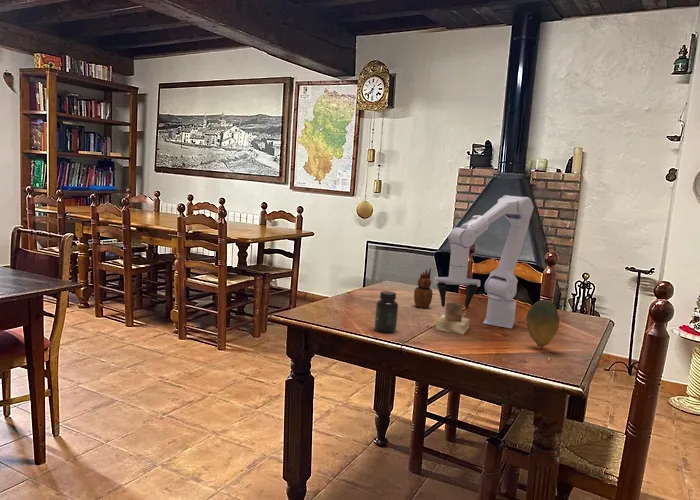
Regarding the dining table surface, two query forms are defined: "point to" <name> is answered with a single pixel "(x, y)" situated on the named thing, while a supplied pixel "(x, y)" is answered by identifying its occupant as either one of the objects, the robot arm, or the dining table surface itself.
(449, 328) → the base block
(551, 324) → the mango
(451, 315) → the walnut block
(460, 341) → the dining table surface
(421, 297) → the wooden figurine
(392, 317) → the supplement bottle
